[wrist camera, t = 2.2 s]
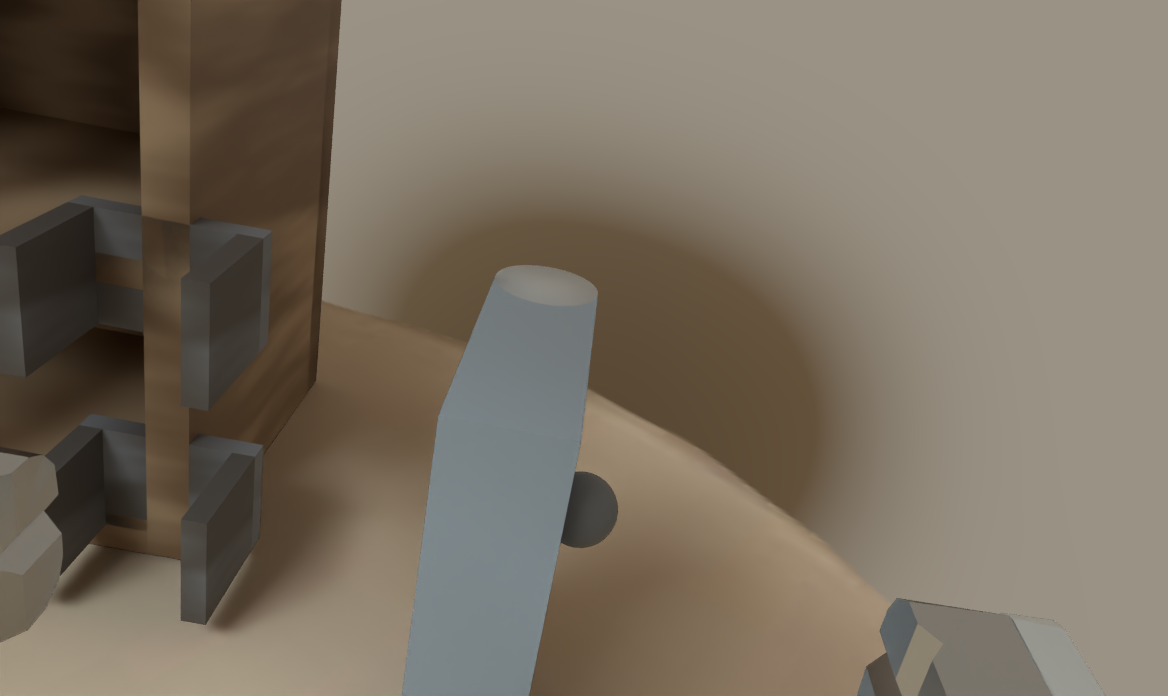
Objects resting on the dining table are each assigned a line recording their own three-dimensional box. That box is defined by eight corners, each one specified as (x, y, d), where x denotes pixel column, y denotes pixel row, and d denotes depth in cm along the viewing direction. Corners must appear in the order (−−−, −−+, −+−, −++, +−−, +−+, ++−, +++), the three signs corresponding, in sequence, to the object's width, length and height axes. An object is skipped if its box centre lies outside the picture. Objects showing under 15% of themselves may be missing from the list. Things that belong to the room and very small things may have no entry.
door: (537, 893, 26) (642, 452, 20) (379, 866, 25) (438, 415, 20) (564, 637, 35) (641, 284, 29) (448, 617, 35) (502, 258, 29)
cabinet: (-403, 541, 31) (-649, -242, 22) (-27, 317, 48) (-76, -170, 39) (205, 648, 31) (215, -74, 22) (360, 388, 48) (402, -77, 39)
